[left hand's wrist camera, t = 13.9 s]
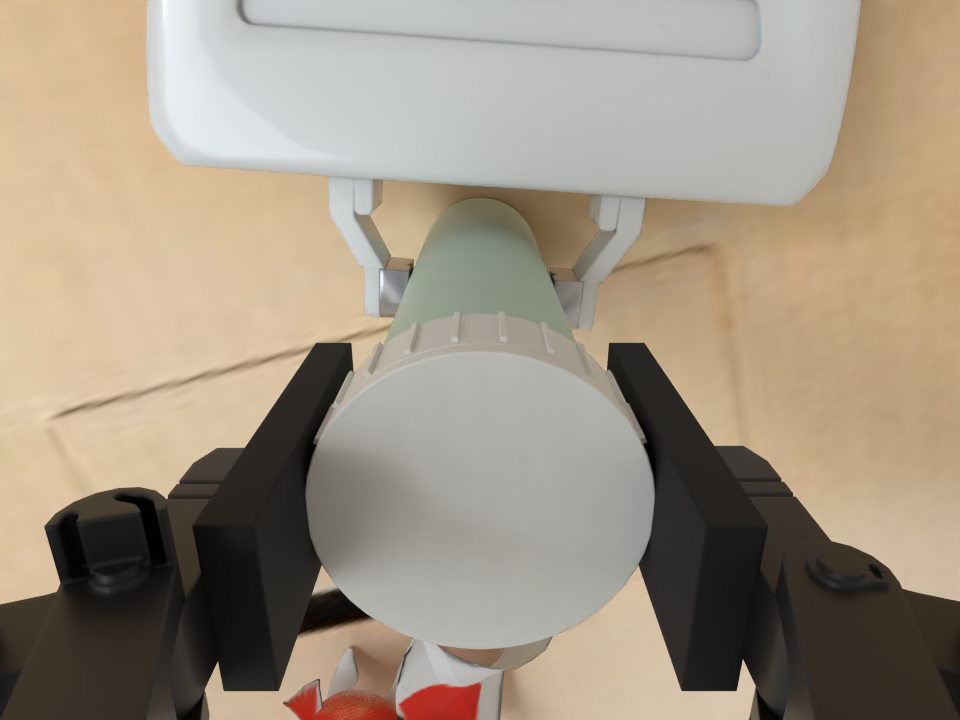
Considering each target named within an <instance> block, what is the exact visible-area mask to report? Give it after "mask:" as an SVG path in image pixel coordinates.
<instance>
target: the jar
mask: <svg viewBox="0 0 960 720" xmlns="http://www.w3.org/2000/svg"><path fill="white" fill-rule="evenodd" d="M459 311H460V312H461V315H466V314H495V315H498V313H499V311H501V312H505V316H510V317H515V318H521V319H524V320H527V321H531V322H534V323H537V324H541V322H545V323H547V324H548V328H549V329H551V330H553V331H556V332H558V333H560V334H562V335H563V336H565V337H566V338H568V339H569V340H571V341H573V342H574V343H576V341H575V339H574V336H573V334H572V331H571V328H570V326H569V323H568V321H567V318H566V316H565V313H564V311H563V308H562V306H561V303H560V301H559V298H558V296H557V293H556V291H555V288H554V286H553V283H552V281H551V278H550V276H549V273H548V271H547V268H546V266H545V263H544V261H543V258H542V256H541V253H540V250H539V248H538V245H537V243H536V240H535V238H534V235H533V233H532V231H531V229H530V227H529V225H528V223H527V222H526V220H525V219H524V218H523V217H522V216H521V214H519V213H518V212H517V211H516V210H515V209H513V208H512V207H511V206H509V205H507V204H505V203H503V202H501V201H498V200H495V199H489V198H471V199H466V200H463V201H460V202H458V203H456V204H454V205H452V206H450V207H449V208H447V209H446V210H445V211H444V212H442V213H441V214H440V215H439V216H438V218H437V219H436V220H435V221H434V223H433V225H432V226H431V228H430V230H429V232H428V235H427V237H426V240H425V242H424V245H423V247H422V250H421V252H420V255H419V257H418V260H417V262H416V265H415V267H414V270H413V272H412V275H411V277H410V280H409V282H408V285H407V287H406V290H405V292H404V295H403V297H402V300H401V302H400V305H399V307H398V310H397V312H396V315H395V317H394V320H393V322H392V325H391V327H390V330H389V332H388V335H387V337H386V340H385V343H386V342H388V341H389V340H391V339H392V338H394V337H396V336H397V335H399V334H401V333H403V332H405V331H407V330H409V329H411V325H412V324H413V323H415V322H418V324H419V325H421V324H424V323H427V322H430V321H433V320H436V319H440V318H445V317H450V316H454V312H459ZM385 343H384V344H385Z"/></svg>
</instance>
